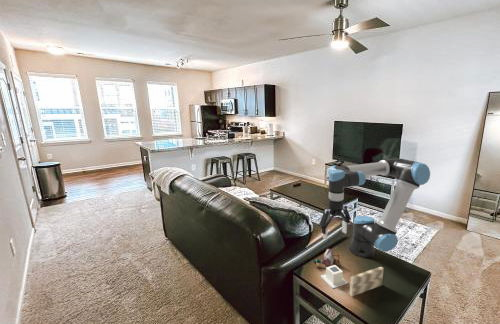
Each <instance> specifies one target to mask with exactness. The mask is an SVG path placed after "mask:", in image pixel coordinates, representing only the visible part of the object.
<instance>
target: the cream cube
mask: <svg viewBox="0 0 500 324" xmlns="http://www.w3.org/2000/svg"><path fill="white" fill-rule="evenodd" d="M343 273H344V271H343V270H342V269H341V268H339V266H337V265H336V264H333V265H331V266H326V267H325V274H326V278H327V279H328V280H329V281H330V282H331V283H332V284H336V283H339V282H342V278H344V277H343V275H344V274H343Z"/></svg>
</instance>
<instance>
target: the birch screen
mask: <svg viewBox="0 0 500 324" xmlns="http://www.w3.org/2000/svg"><path fill="white" fill-rule="evenodd" d="M384 269H385V268H384V267H382V266H378V267H375V268H373V269H369V270H366V271H363V272H361V273H357V274H355V275H352V276H350V280H349V281H350V282H349V296H350V297H355V296H357V295H359V294H363V293H365V292H367V291H370V290H373V289H375V288H379V287H381V286H382V285H383V280H384V279H383V278H384V277H383V276H384Z"/></svg>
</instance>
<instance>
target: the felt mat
mask: <svg viewBox="0 0 500 324" xmlns="http://www.w3.org/2000/svg"><path fill="white" fill-rule="evenodd" d="M320 278H321V279H322V280H323V281H325V283H326V284H327V285H329V287H331V289H336V288H338V287H341V286H345V285H347V284H349V282H348V281H347V280H345V278H344V277H342V282H339V283H336V284H332V283H331V282H330V281H329V280H328V279H327V278H326V273H325V274H322V275H320Z"/></svg>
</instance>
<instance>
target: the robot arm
mask: <svg viewBox="0 0 500 324" xmlns="http://www.w3.org/2000/svg"><path fill="white" fill-rule="evenodd" d="M327 173H328V202H327V204H328V205H327V206H328V209H326V208H324V209H323V213H322V216H321V219H320V221H319V224H318V227H319V228H320V229H321V234H322V238H323V240H326V241H327V240H328V228H327V227H328V226H329V224H330V223H331V221H332V219H335V217H338V216H340V218H341V219H342V222H341V232H342V233H344V234H345V235H346V234H348V233H347V231H348V227H349V225H348V224H349V223H350V222H351V220H352V218H351V215H350V213H349V211H348V205H345V204H344V198H345V194H344V193H345V188H351V187H359V186H364V184H365V183H366V177H370V176H373V177H374V176H378V175H379V176H380V175H381V176H383V177H385V176H390V177H393V178H394V177H395V178H396V179H395V181H396V183H397V184H396V186H395V188H394V190H393V191H392V193H391V196H390V197H389V199H388V202H387V204H386V206H385V208H384V210H383V212H382V214H381V216H380V218H379V220H375V218H373V217H372V216H368V215H358V216H355V217H354V218H353V223H352V224H353V228H352V238H351V240H350V243H348V249H349V251H350V253H352V254H353V255H356V256H357V257H362V258H372V257H374V255H375V253H376V251H375V248H376V249H378V250H379V251H381V252H389V251H392V250H394V248H396V246H397V244H398V242H399V240H398V236H397V233H398V231H397V226H398V223H399V221H400V220H401V217H402V215H403V213H404V211H405V209H406V207H407V205H408V203H409V201H410V199H411V197H412V195H413V193H414V190H417V189H420V186H423V185H425V184H427V183H428V182H429V181H430V178H431V171H430V167H429V166H428V165H427V164H426V163H423V162H421V161H420V162H419V161H417V160H416V161H415V160H411V159H410V160H409V159H404V158H391V159H390V158H387V159H381V160H379V161H378V162H369V163H362V164H353V165H352V164H351V165H343V166H339V165H331V166H330V167H329V168H328V172H327Z"/></svg>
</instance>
